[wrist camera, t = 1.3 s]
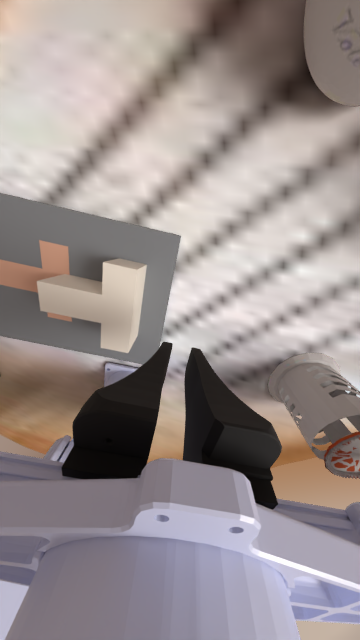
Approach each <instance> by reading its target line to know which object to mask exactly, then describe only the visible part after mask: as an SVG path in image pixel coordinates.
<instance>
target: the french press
mask: <svg viewBox="0 0 360 640" xmlns="http://www.w3.org/2000/svg"><path fill="white" fill-rule="evenodd" d="M348 383H349V382H348V381H347V380H346V379H344V378H343V377H342V376H341V375H340V366H339V365H338V364H337V362H336V361H335V360H334V359H333V358H331V357H329V356H327V355H324V354H322V353H305V354H301V355H297V356H293V357H291V358H289V359H287V360H286V361H284V362H282V363H281V364H279V365H278V366H277V368H276V369H275V370H274V371H273V372H272V373H271V375H270V378H269V382H268V388H269V392H270V394H271V395H272V396H273V397H274V398H275V399H276V400H277V401H279V402H281V403H284V404H285V406H286V408H288V409H287V410H288V411H289V413H290V414H291V412H292V414H293V415H292V414H291V416H293V417H292V418H294V421H295V423H296V425H297V427H298V426H299V427H300V428H299V427H298V428H299V429H300V431H301V433H302V435H303V437H304V438H305V440H306V442H307V443H308V445H309V446H310V448H311V450H312V451H313V452H314V453H315V455H316V456H317V457H318V458H320V459H323V460H324V461H325V467H326V468H327V469H328V470H329V471H330V472H331V473H333V474H334V475H337V476H338V475H339V476H341V477H345V478H347V477H348V478H350V477H351V478H355V479H356V478H359V479H360V398H359V397H357V396H356V394H358V395H360V391H358V390H357V389H356V388H355V387H354V386H352V385H351V384H350V383H349V384H348ZM348 386H350V387H351V389H350V388H348ZM345 390H346V391H351V392H350V393H349V394H348V393H347V392H345ZM356 391H358V392H359V393H358V392H356ZM297 415H301V416H302V419H299V418H297V417H296V416H297ZM345 417H346V418H347V419H348V420H349V421H350V422H351V423H352V424H353V425H354V427H355V428H356V429H357V430H358V431H359V432H355V433H351V432H350V431H349V430H348V429H347V427H346V426H345V425H344V424H343V423H342V422H341V420H340V419H342V418H345ZM296 420H297V421H298V423H299V424H298V423H297V422H296ZM322 431H324V433H325V434H326V436H324V437H323V438H319V439H314V437H315V436H316V434H317V433H320V432H322ZM330 441H331V443H332V445H331V446H329V448H328V449H327V450H325V451H320V450H318V449H316V448H315V447H313V446H312V445H311V443H314V444H316V445H322V444H327V443H328V442H330Z"/></svg>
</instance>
